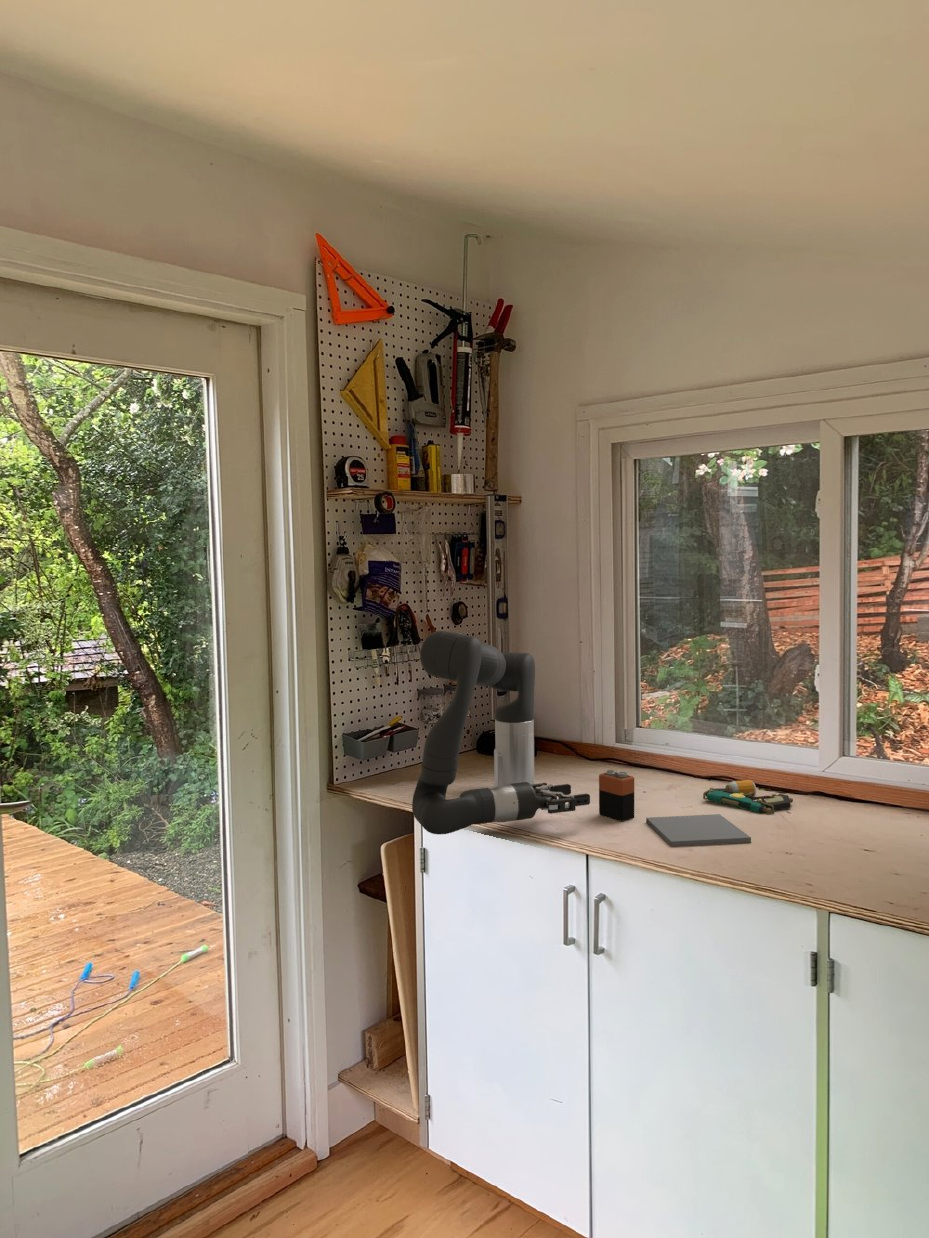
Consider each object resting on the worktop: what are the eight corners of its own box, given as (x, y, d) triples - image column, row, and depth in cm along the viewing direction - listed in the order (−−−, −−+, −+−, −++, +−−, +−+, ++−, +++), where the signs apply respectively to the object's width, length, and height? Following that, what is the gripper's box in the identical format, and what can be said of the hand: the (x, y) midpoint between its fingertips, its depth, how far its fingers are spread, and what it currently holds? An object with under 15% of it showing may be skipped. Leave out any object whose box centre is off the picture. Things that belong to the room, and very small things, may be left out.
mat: (671, 846, 177) (671, 841, 177) (646, 822, 193) (646, 817, 193) (751, 842, 179) (751, 837, 179) (719, 818, 195) (719, 814, 195)
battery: (621, 822, 193) (621, 775, 193) (598, 815, 199) (597, 769, 198) (635, 818, 196) (635, 772, 195) (611, 811, 201) (611, 766, 201)
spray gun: (801, 812, 202) (752, 825, 195) (744, 790, 217) (696, 802, 209) (802, 793, 202) (753, 806, 194) (744, 773, 216) (697, 784, 209)
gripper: (523, 792, 181) (596, 784, 187) (495, 776, 194) (563, 768, 200) (524, 830, 181) (596, 820, 187) (496, 811, 195) (564, 802, 201)
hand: (579, 793), depth 194 cm, fingers open, 8 cm apart
